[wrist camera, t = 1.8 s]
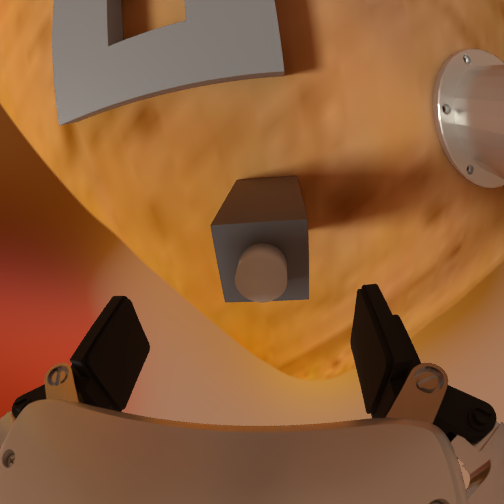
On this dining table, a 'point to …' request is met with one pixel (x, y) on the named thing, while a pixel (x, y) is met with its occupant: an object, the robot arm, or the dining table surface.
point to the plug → (263, 241)
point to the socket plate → (157, 52)
